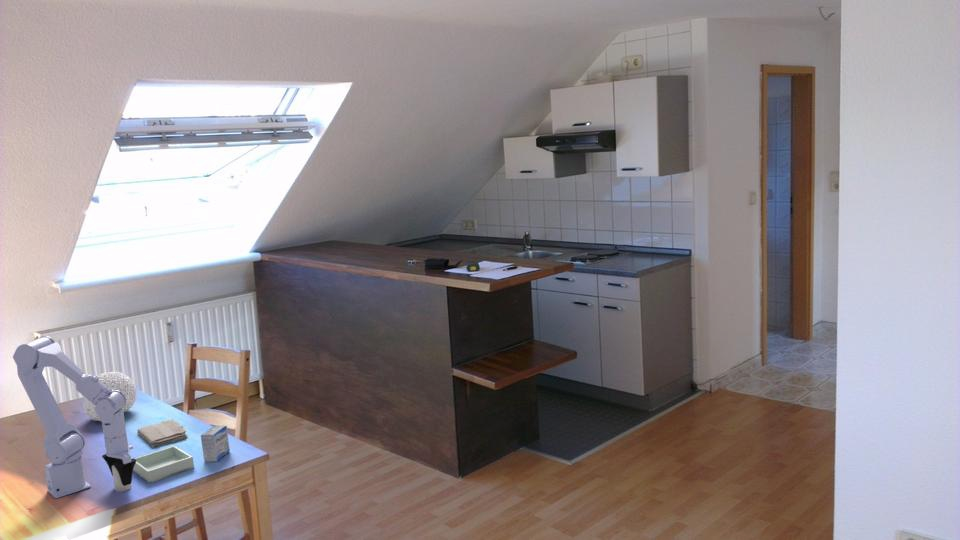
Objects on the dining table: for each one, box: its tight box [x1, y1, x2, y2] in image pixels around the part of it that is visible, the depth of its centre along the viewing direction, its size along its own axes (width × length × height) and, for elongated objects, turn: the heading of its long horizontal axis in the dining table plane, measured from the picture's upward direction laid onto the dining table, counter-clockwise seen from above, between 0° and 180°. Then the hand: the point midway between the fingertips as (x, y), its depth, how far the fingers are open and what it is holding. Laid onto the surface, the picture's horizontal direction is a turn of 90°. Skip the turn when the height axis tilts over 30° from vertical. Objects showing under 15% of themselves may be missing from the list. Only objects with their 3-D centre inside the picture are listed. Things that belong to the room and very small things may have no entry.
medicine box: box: [200, 424, 231, 463], centre depth 242 cm, size 8×4×9 cm, turn 168°
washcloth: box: [137, 418, 188, 448], centre depth 263 cm, size 12×18×3 cm, turn 40°
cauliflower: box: [82, 371, 137, 422], centre depth 285 cm, size 20×18×16 cm
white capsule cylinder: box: [112, 465, 132, 493], centre depth 224 cm, size 4×4×7 cm
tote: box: [133, 445, 195, 484], centre depth 236 cm, size 13×13×4 cm
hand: (122, 480), depth 224 cm, fingers open, 7 cm apart
